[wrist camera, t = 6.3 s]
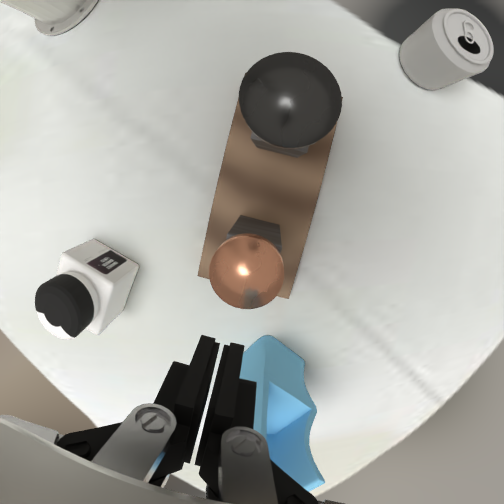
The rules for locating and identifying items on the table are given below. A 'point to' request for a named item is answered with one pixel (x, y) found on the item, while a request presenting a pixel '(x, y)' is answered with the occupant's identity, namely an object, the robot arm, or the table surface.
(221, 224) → the stand
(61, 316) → the container
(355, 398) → the table surface
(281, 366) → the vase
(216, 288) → the plunger terracotta
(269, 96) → the plunger black
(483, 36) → the can
